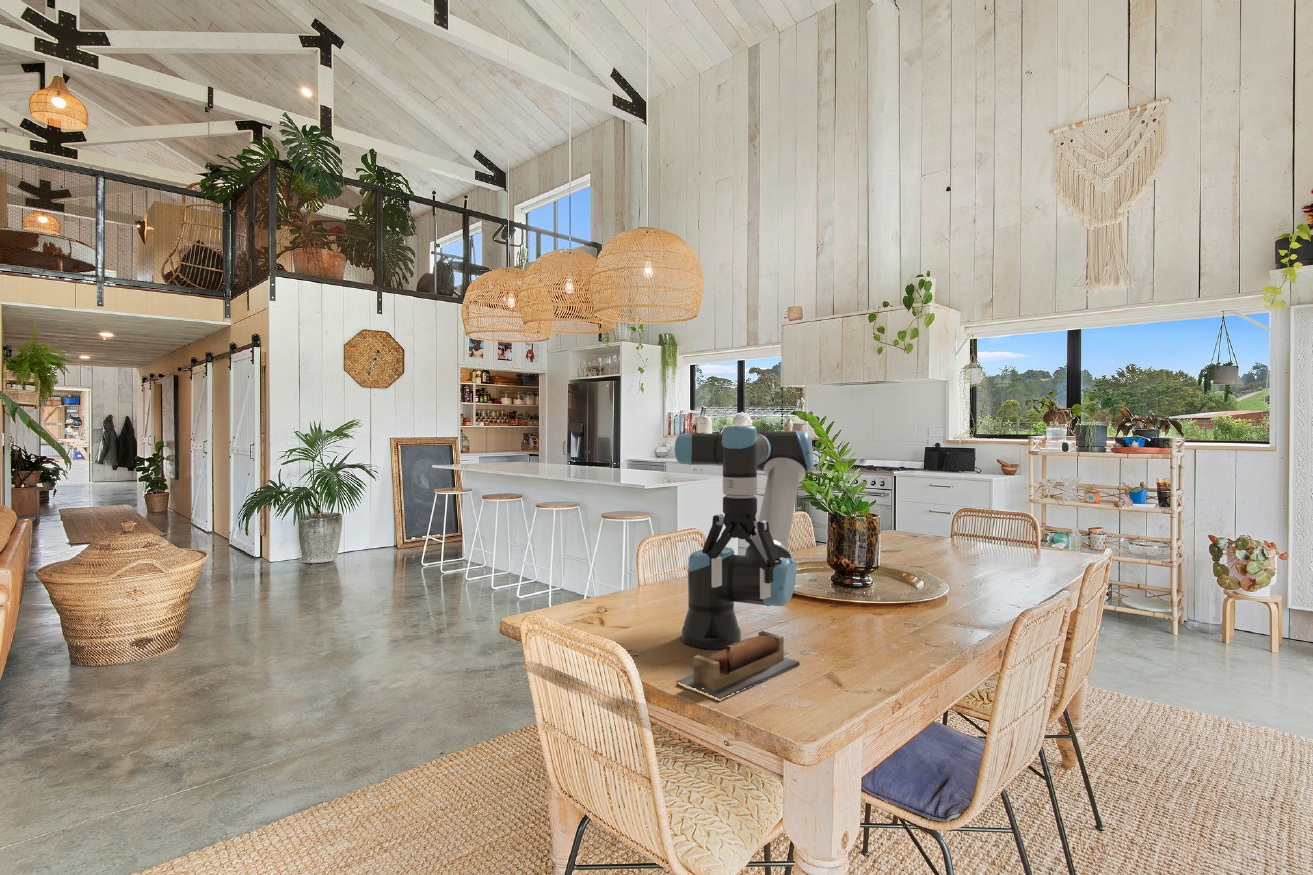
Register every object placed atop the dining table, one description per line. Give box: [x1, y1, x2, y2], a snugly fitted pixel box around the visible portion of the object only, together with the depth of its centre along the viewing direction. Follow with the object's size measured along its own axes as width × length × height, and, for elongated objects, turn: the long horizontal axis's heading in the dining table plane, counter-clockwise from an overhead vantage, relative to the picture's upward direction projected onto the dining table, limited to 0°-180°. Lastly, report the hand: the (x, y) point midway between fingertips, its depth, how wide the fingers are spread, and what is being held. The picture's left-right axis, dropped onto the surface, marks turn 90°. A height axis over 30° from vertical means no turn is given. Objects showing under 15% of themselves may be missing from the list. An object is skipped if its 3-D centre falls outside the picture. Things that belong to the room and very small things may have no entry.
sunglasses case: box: [707, 635, 777, 675], centre depth 145 cm, size 18×7×7 cm
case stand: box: [676, 630, 801, 699], centre depth 146 cm, size 12×28×6 cm, turn 134°
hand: (740, 592), depth 145 cm, fingers open, 13 cm apart
